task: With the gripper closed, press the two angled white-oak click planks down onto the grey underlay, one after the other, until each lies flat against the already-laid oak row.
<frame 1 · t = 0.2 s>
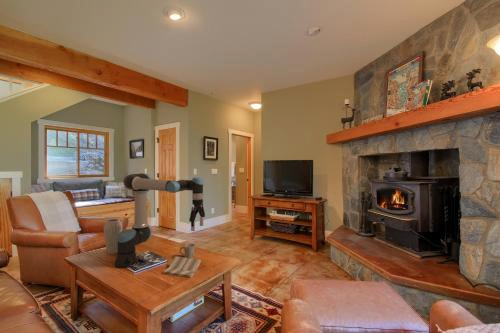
hand: (197, 228, 170), 27 cm above the table, fingers open, 13 cm apart
vase: (112, 252, 191), on the table
plank 1: (178, 263, 165), point 4 cm above the table, hinge at 35.0°
mug: (186, 258, 183), on the table
plank 2: (191, 265, 162), point 4 cm above the table, hinge at 35.0°
laid row: (182, 271, 160), on the table
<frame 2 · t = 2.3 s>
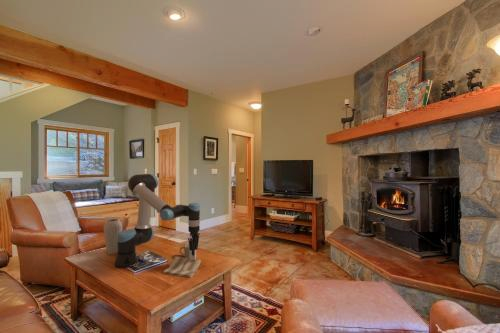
hand: (193, 259, 164), 7 cm above the table, fingers closed
plank 2: (191, 265, 162), point 4 cm above the table, hinge at 34.6°, touching gripper
everything else where it was.
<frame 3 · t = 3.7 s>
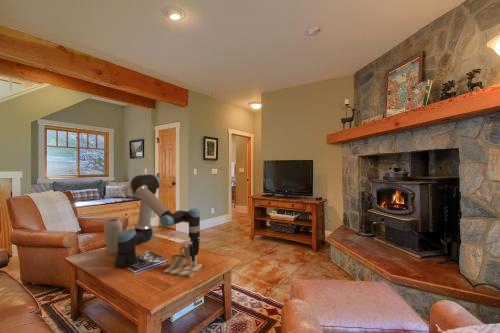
hand: (194, 264, 165), 3 cm above the table, fingers closed, pressing on plank 2
plank 2: (192, 267, 163), point 2 cm above the table, hinge at 5.0°, touching gripper
everything else where it was.
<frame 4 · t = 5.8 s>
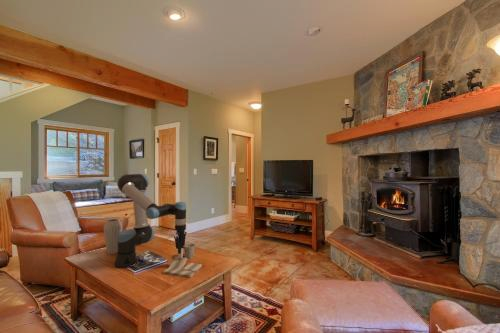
hand: (180, 257, 167), 7 cm above the table, fingers closed
plank 1: (178, 263, 165), point 4 cm above the table, hinge at 34.9°, touching gripper
plank 2: (192, 267, 163), point 2 cm above the table, hinge at 5.0°
everything else where it was.
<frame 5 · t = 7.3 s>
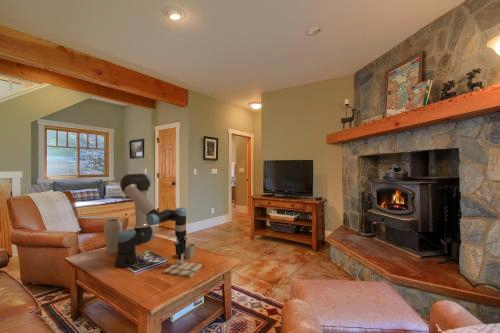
hand: (180, 263, 167), 3 cm above the table, fingers closed, pressing on plank 1
plank 1: (178, 265, 166), point 2 cm above the table, hinge at 4.2°, touching gripper
everything else where it was.
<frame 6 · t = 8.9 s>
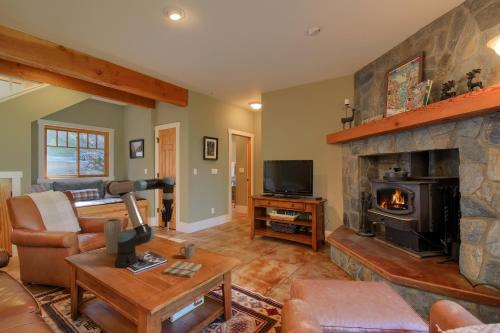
hand: (166, 230, 171), 24 cm above the table, fingers closed
plank 1: (178, 265, 166), point 2 cm above the table, hinge at 4.2°
everything else where it was.
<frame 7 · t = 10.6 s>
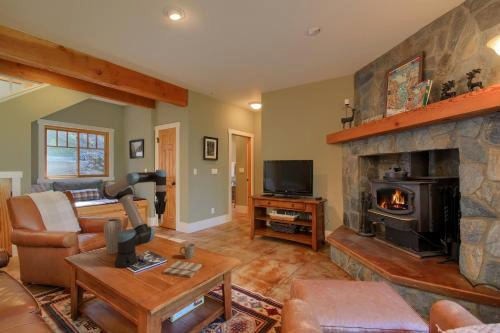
hand: (160, 223, 173), 29 cm above the table, fingers closed
nothing on the table moved.
at the end: plank 2 at +5° (first picture: +35°); plank 1 at +4° (first picture: +35°) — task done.
